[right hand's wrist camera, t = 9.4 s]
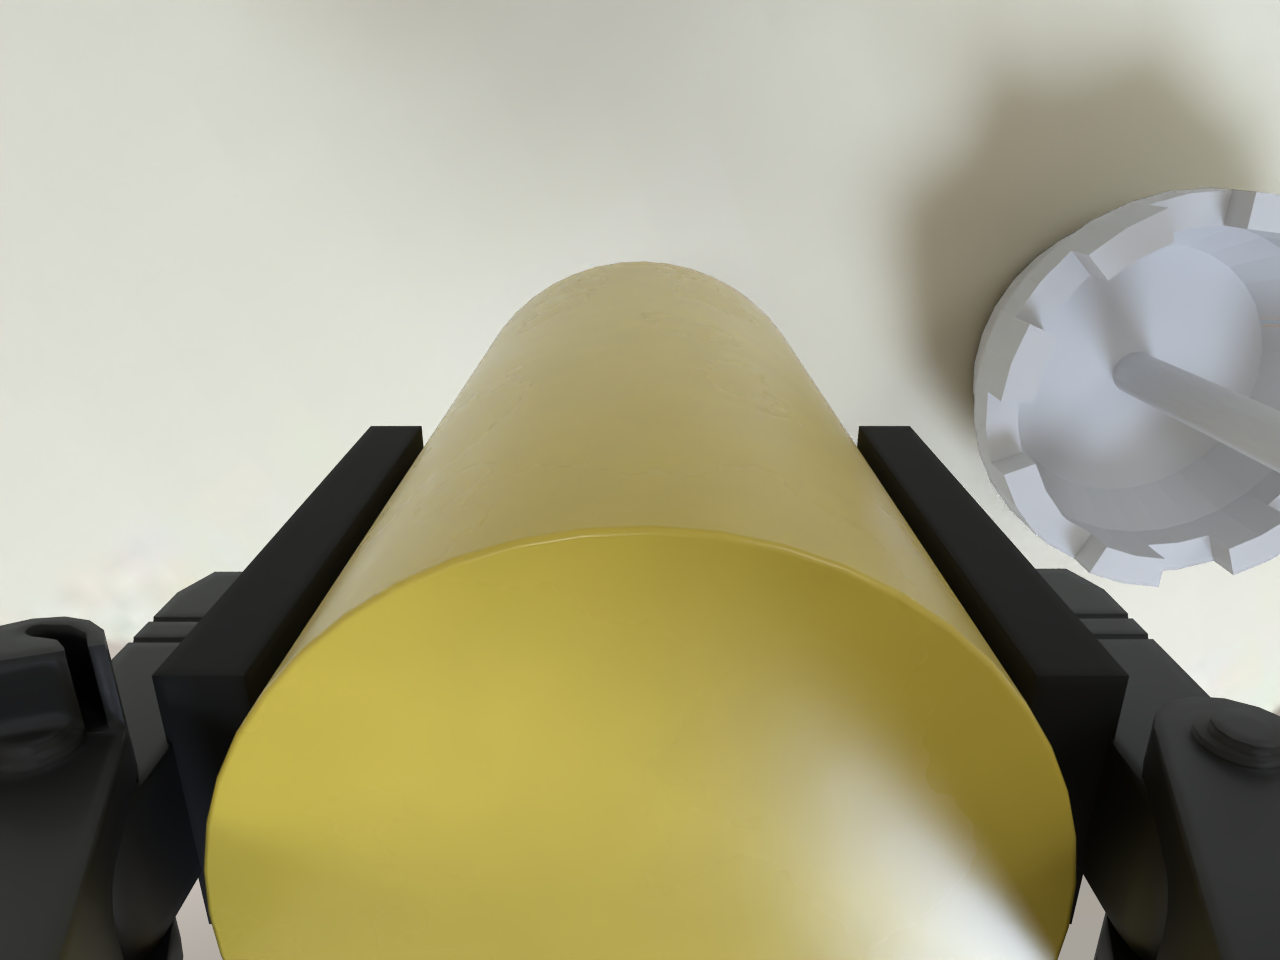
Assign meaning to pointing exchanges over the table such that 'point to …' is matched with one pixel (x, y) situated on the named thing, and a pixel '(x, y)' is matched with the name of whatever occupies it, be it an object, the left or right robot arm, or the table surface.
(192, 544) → the table surface
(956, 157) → the table surface
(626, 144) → the table surface
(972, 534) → the right robot arm
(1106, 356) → the flag stand
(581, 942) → the canister
